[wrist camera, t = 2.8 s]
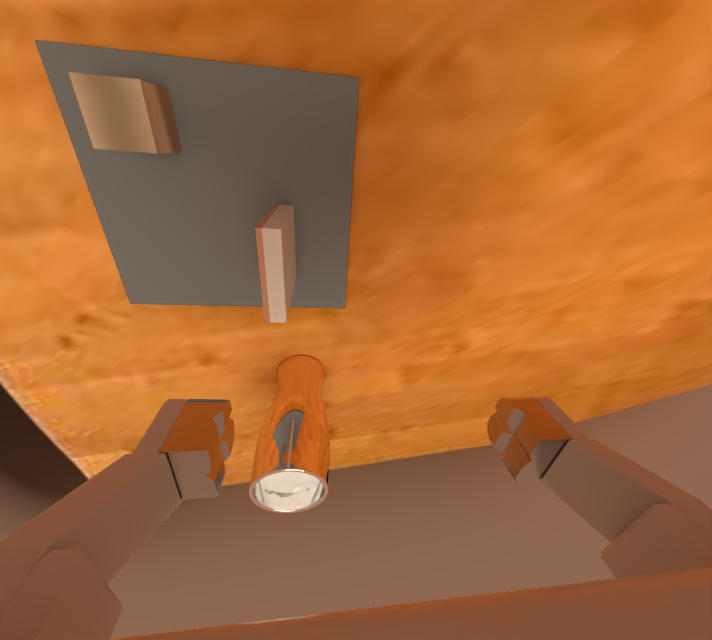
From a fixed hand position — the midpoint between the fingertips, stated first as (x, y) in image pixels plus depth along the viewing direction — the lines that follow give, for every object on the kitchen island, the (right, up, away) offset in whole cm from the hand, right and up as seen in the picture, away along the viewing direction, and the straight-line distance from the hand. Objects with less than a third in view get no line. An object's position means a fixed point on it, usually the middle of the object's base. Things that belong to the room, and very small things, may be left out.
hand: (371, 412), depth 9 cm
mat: (-12, +13, +18) cm, 25 cm away
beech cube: (-16, +18, +13) cm, 28 cm away
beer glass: (-7, -4, +29) cm, 30 cm away
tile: (-7, +10, +19) cm, 23 cm away
